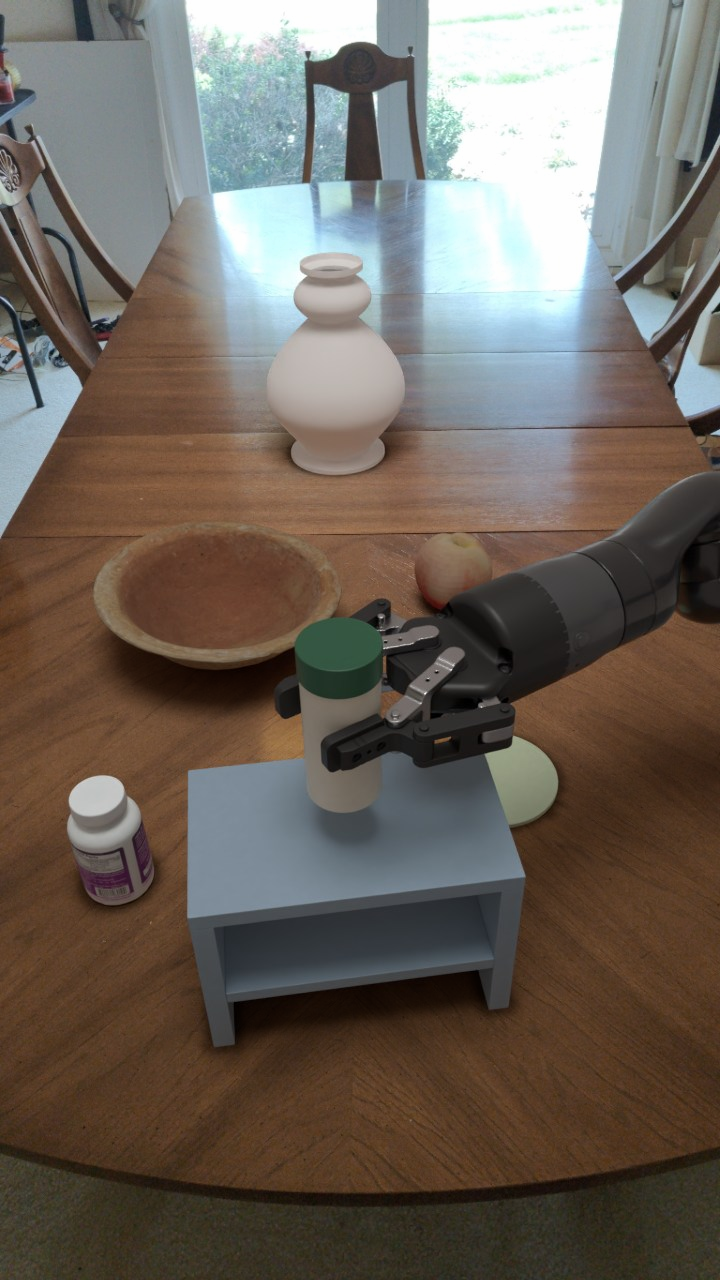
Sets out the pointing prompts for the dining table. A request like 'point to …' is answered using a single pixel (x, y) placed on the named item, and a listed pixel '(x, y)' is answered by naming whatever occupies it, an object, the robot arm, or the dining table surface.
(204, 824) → the shelf
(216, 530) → the bowl
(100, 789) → the pill bottle
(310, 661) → the spice bottle
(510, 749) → the mat
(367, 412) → the decorative vase
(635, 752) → the dining table surface
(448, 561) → the fruit
